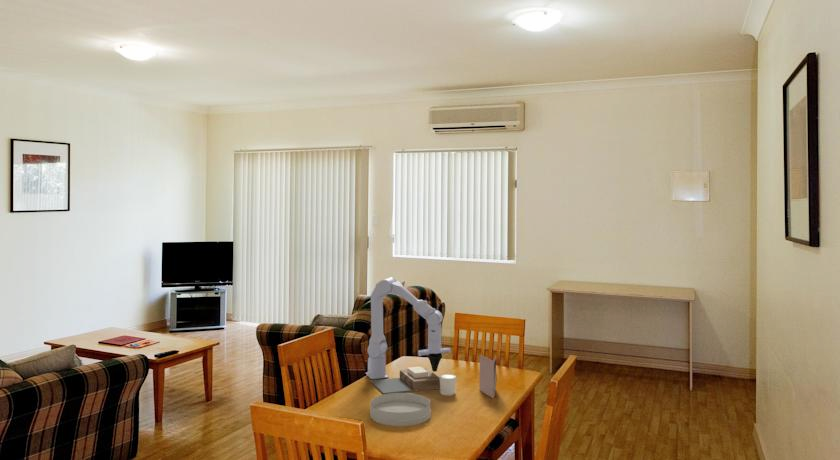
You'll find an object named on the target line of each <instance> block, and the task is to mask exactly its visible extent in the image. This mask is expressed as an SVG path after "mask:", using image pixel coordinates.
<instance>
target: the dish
mask: <svg viewBox="0 0 840 460" xmlns="http://www.w3.org/2000/svg"><path fill="white" fill-rule="evenodd" d="M431 409H432V408H431V400H430V399H429V398H428V397H427V396H423V395H421V394H417V393H412V392H411V393H410V392H402V393H390V394H384V395H383V394H381V395H378V396H376V397H373V399H372V400H371V401H370V409H369V416H370V419H373V420H372V421H374V422H375V421H376V422H375V423H378V424H380V425H385V426H392V427H409V426H415V425H419V424H422V423H425V422H426V421H428V420H429V419H430V418H431V415H432V414H431V412H432V410H431Z"/></svg>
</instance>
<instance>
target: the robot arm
mask: <svg viewBox="0 0 840 460" xmlns="http://www.w3.org/2000/svg"><path fill="white" fill-rule="evenodd" d="M389 294H390V295H398V296H400V297H401V298H402V299H404V300H405V301H407V302H408V304H410V305H412V307H413V310H414V312H416V313H417V314H418V315H419V316H420V317H422V318H423V319H425V320H426V324H427V325H428V326H427V342H428V343H427V348H425V349H419V350H417V355H418V356H419V357H423V356H427V358H428V360H429V363H430V367H431V372H433V373H434V372H438V367H439V364H440V362H441V360H442V358H443V355H444V354H451V353H452V348H450V347H442V322H443V319H444V317H443V313H442V312H441V311H440V310H437V309H436V308H435V307H432V306H431V305H430V304H428V301H427V300H423V299H418V298H417V297H416V296H415V295H414V294H413V293H411V292H410V291H409V290H408V289H407V288H406V287H405V286H404V285H403V284H402V283H401V282H400V281H398V280H397V279H396V278H395V277H387V278H384V279H381V280H380V281H378V282H377V283H376V284H375V286H374V288H373V291H372V292H371V294H370V318H371V319H370V323H371V325H370V326H371V331H370V332H371V336H370V337H369V341H368V347H367V350H366V351H367V354H368V358H367V372H365V374H366V376H367V377H368V378H369V379H371V380H381V379H389V375H388V374H387V372H386V371H387V369H386V365H387V364H386V361H387V360H386V359H387V358H386V356H387V355H386V352H387V350H388V347H389V346H388V343H387V340H386V336H385V334H384V298H386V297H387V296H388V295H389ZM442 354H443V355H442Z"/></svg>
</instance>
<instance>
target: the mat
mask: <svg viewBox="0 0 840 460" xmlns="http://www.w3.org/2000/svg"><path fill="white" fill-rule="evenodd" d="M370 383H371V384H372V385H373V386H375V388H377V390H378V391H379V392H380V393H381V395H384V394H390V393H410V392H411V393H412V392H414V391H413V390H412V389H411V388H410V387H409V386H408V385H407V384H405V383H404V382H403V381H402V380H401V379H400V377H395V378H394V377H393V378H392V377H391V378H381V379H371V380H370Z"/></svg>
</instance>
